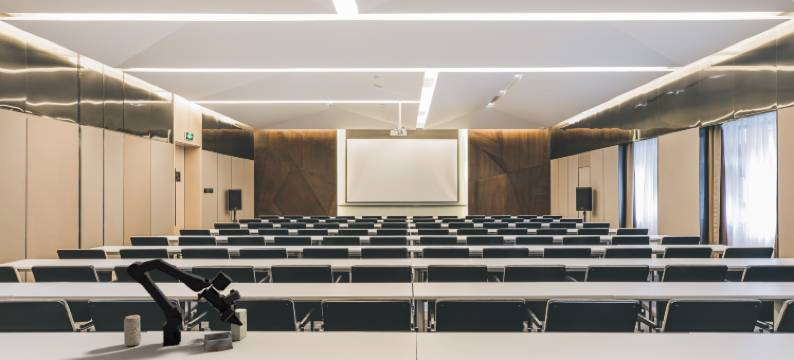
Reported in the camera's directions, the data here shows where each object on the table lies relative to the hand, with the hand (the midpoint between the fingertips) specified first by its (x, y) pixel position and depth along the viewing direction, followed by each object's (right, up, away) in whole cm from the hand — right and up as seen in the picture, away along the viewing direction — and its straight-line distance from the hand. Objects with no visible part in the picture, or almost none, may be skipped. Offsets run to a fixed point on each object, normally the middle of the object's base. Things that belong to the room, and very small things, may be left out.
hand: (242, 322), depth 225 cm
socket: (-7, -7, -11) cm, 15 cm away
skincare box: (-1, -7, 0) cm, 7 cm away
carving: (-43, -7, -9) cm, 45 cm away
